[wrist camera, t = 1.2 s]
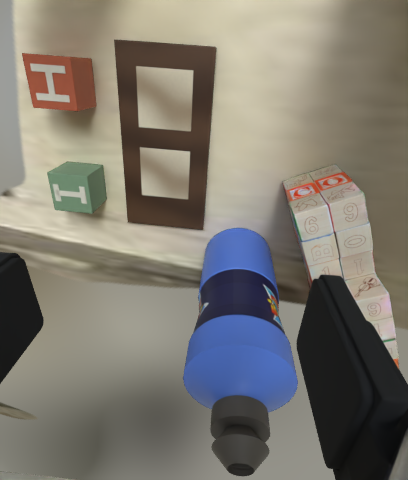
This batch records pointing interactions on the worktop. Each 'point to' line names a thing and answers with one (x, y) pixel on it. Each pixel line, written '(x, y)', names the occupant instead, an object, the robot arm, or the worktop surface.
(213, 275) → the water bottle
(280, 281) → the worktop surface
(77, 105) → the letter H
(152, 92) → the word board
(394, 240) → the worktop surface
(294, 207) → the stack of blocks
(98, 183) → the letter I
